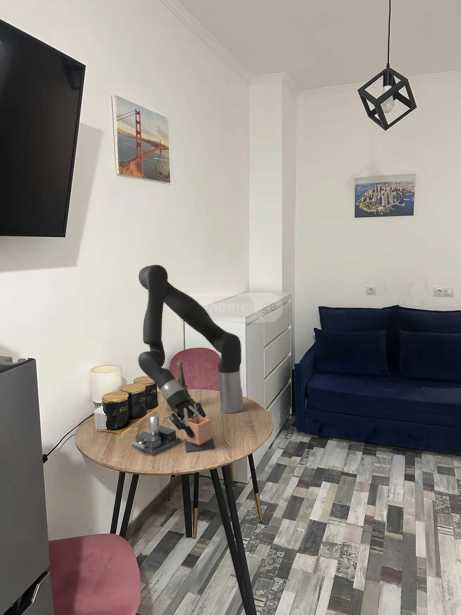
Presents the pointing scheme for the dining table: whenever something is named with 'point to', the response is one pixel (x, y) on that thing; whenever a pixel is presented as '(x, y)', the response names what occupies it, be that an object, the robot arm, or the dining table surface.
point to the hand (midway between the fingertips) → (200, 433)
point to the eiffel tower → (182, 382)
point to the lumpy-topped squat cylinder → (100, 418)
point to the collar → (199, 430)
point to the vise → (155, 438)
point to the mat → (199, 446)
